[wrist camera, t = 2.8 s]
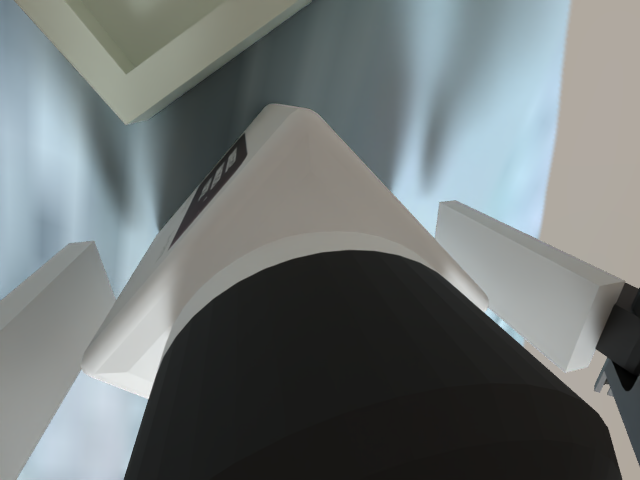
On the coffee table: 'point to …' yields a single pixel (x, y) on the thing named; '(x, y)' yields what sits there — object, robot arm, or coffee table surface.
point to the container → (326, 337)
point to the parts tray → (153, 43)
